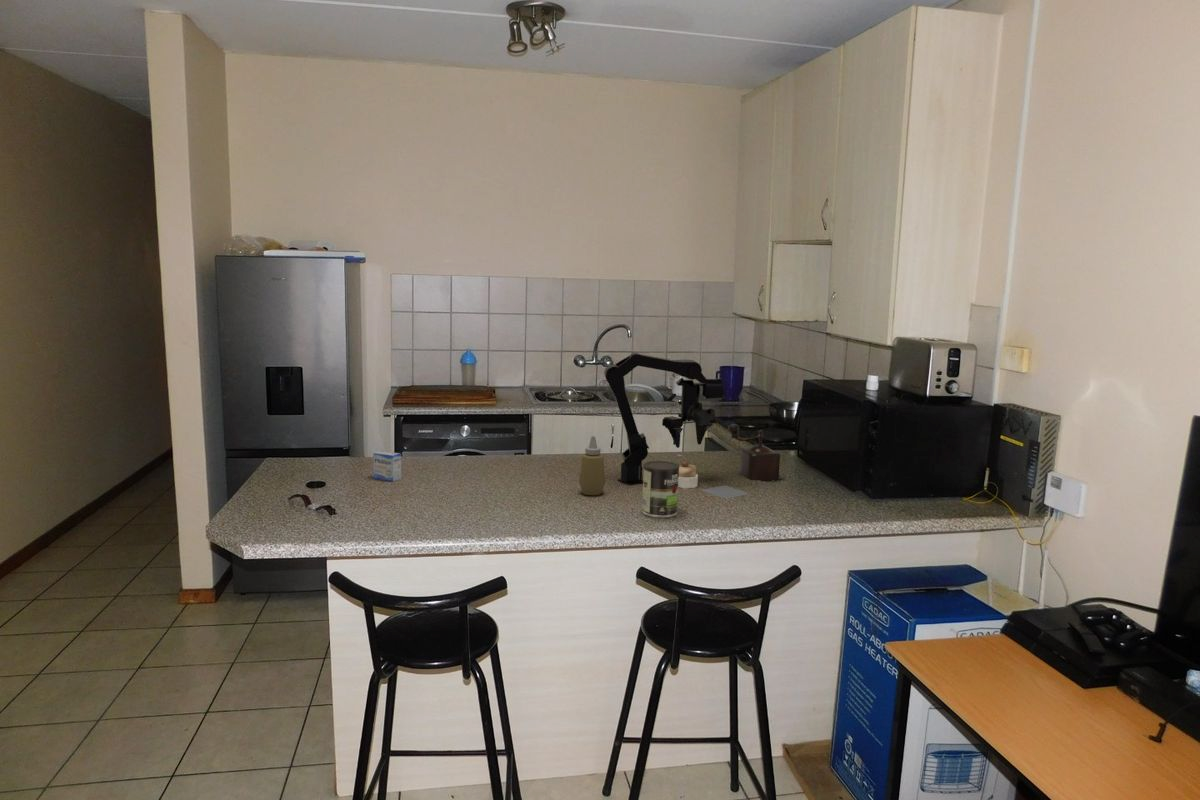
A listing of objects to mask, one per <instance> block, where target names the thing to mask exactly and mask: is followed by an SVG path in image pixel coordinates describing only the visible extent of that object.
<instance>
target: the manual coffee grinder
mask: <svg viewBox="0 0 1200 800" xmlns="http://www.w3.org/2000/svg"><path fill="white" fill-rule="evenodd" d="M739 430H740V426H739V425H738V424H737V423H732V424H730V425H728V426H727V431H728V432H729V433H730V434H731V436H730V438H731V439H735V440H737V441H739V442H746V441H747V442H748V441H752V440H756V439H758V442H754V445H751V446H748V447H740V448H739V449H740V450H739V451H740V452H739V467H738V475H740V476H743V477H744V478H746V479H747V480H749V481H760V482H763V481H766V482H773V481H772V480H778V481H779V480H780V479H779V477H780V463H781V462H780V461H781V460H780V459H781V455H780V453H779V452H777V451H775V450H773V449H771V448H770V447H768V446H766V445H764V444H763V437H764V431H763V430H762V429H760V430H759V432H758V433H759V434H757V435H756V436H751V437H745V438H740V435H739Z"/></svg>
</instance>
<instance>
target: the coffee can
mask: <svg viewBox="0 0 1200 800" xmlns="http://www.w3.org/2000/svg"><path fill="white" fill-rule="evenodd" d="M678 464H679V463H676V462H672V461H665V460H655V461H654V460H651V461H647V462H644V463H642V465H643V466H642V468H643V474H642V480H643V482H642V504H641V505H642V507H641V508H642V510H641V513H642V514H643V515H646V516H648V517H651V518H658V519H659V518H661V519H662V518H663V519H664V518H673V517H676V515H677V514H678V499H679V487H678V479H679V465H678Z"/></svg>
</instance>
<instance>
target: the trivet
mask: <svg viewBox="0 0 1200 800" xmlns="http://www.w3.org/2000/svg"><path fill="white" fill-rule="evenodd" d="M699 491H701V492H702V493H706V494H709V495H711V496H715V497H718V498H721V499H723V500H727V499H732V498H737V497H740V496H745V495H751V492H747V491H743V490H741V489H737V488H734V487H732V486H728V485H720V486H716V487H715V486H714V487H710V488H706V489H705V488H704V489H700V490H699Z"/></svg>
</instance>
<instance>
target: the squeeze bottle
mask: <svg viewBox="0 0 1200 800" xmlns="http://www.w3.org/2000/svg"><path fill="white" fill-rule="evenodd" d="M584 449H585V451H584V452H585V453H584V454H583V455H582V456H581V463H580V471H579V472H580V473H579V480H578V482H579V486H580V490H581V492H582V494H584V495H586V496H598V495H601V494H602V492H603V489H604V486H605V484H606V475H605V463H604V456H603V455H602V454H601V451H602V450H601V447H598V445H597V440H596V436H593V435H591V437H590V441H589V445H588V446H586V447H585V448H584Z"/></svg>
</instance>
